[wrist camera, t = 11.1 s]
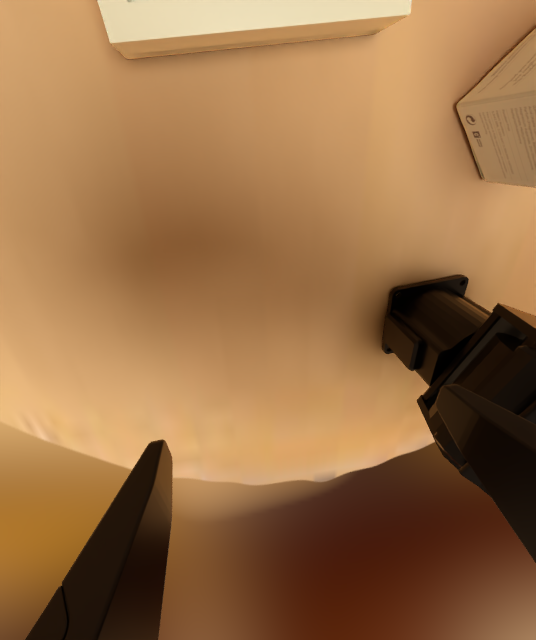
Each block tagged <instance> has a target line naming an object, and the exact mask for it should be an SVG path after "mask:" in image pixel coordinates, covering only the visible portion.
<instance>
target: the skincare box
mask: <svg viewBox="0 0 536 640" xmlns="http://www.w3.org/2000/svg"><path fill="white" fill-rule="evenodd" d="M456 107H457V111H458V114H459V116H460V119H461V122H462V124H463V126H464V128H465V131H466V134H467V137H468V140H469V143H470V145H471V148H472V152H473V155H474V158H475V160H476V163H477V165H478V169H479V171H480V174H481V177H482V178H483V179H485V180H486V181H487V182H491V183H501V184H509V185H516V186H526V187H534V188H536V28H535V29H534V30H533V31H532V32H531V33H530V34H529V35H528V36H527V37H526V38H525V39H524V40H523V41H521V42H520V43H519V44H518V45H517V46H516V47H515V48H514V49H513V50H512V51H511V52H510V53H509V54H508V55H507V56H506V57H505V58H504V59H503V60H502V61H501V62H500V63H499V64H498V65H497V66H495V67H494V69H493V70H492V71H491V72H490V73H489V74H488V75H487V76H486V77H485V78H484V79H483V80H482V81H481V82H480V83H479V84H478V85H477V86H476V87H475V88H474V89H472V90H471V91H470V92H469V93H468V94H467V95H466V96H465V97H464V98H463V99H462V100H460V101H459V102H458V104H457V106H456Z"/></svg>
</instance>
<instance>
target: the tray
mask: <svg viewBox="0 0 536 640" xmlns="http://www.w3.org/2000/svg"><path fill="white" fill-rule="evenodd" d="M97 1H98V4H99V8H100V11H101V14H102V18H103V21H104V24H105V27H106V31H107V34H108V37H109V41H110V44H112V45H113V46H114V47H115V48H116V49H117V50H118V51H119V52H120V53H121V54H122V55H123V56H124V57H125V58H126V59H137V58H147V57H157V56H166V55H176V54H186V53H196V52H206V51H216V50H226V49H235V48H245V47H255V46H265V45H275V44H285V43H294V42H304V41H314V40H324V39H334V38H344V37H353V36H363V35H373V34H376V33H378V32H380V31H381V30H383V29H385V28H387V27H389V26H390V25H392V24H394V23H396V22H398V21H399V20H401V19H403V18H405V17H407V16H408V15H410V11H411V3H412V0H97Z"/></svg>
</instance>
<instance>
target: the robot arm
mask: <svg viewBox="0 0 536 640" xmlns="http://www.w3.org/2000/svg"><path fill="white" fill-rule="evenodd" d="M468 280H469V279H468V278H467V277H465V276H463V275H458V276H453V277H448V278H443V279H438V280H433V281H427V282H422V283H417V284H412V285H407V286H401V287H396V288H394V289H393V290H392V291H391V292H390V296H389V303H388V310H387V315H386V317H385V324H384V331H383V344H382V350H383V351H384V352H385V353H386V354H390V353H395V354H396V355H397V357H398V358H399V359H400V360H401V361H402V362H403V364H404V365H405V366H406V367H407V368H408V369H409V370H411V371H414V370H415V371H416V372H417V373H418V374H419V375H420V376H421V377H422V379H423V380H424V381H425V382H426V383H427V384H428V385H429V386H430V387H429V388H428V390H427V391H426V392H425V393H424V394H423V395H421V396H420V397H419V398H418V399H417V403H418V405H419V407H420V409H421V411H422V414H423V416H424V418H425V420H426V422H427V424H428V427H429V429H430V431H431V433H432V435H433V437H434V440H435V442H436V444H437V445H438V447H439V449H440V451H441V452H442V455H443V456H444V457H445V458H446V459H448V460H449V462H450V463H451V464H453V465H454V466H455V467H456V468H457V469H458V470H459V472H460V474H461V475H462V476H464V477H465V478H467V479H468V480H470V481H471V482H473V483H474V484H476V485H477V486H479V487H480V488H481V489H482V490H483V491H484V492H486V493H487V494H488V495H489V496H490V497H491V498H492V499H493V501H494V502H495V503H496V505H497V506H498V508H499V509H500V511H501V512H502V514H503V515H504V517H505V518H506V520H507V521H508V523H509V524H510V526H511V527H512V528H513V530H514V532H515V533H516V535H517V536H518V537H519V539H520V540H521V542H522V543H523V545H524V546H525V547H526V549H527V551H528V552H529V554H530V555H531V556H532V558H533V560H534V561H535V563H536V316H534V315H531V314H528V313H525V312H523V311H520V310H517V309H514V308H511V307H508V306H506V305H503V304H500V303H498V304H497V305H496V306H495V307H494V309H493V312H492V313H491V312H489V311H487V310H486V309H484V308H483V307H481V306H480V305H478V304H476V303H475V302H473V301H472V300H470V299H468V298H467V297H465V296H464V294H465V291H466V288H467V284H468ZM397 293H398V294H397ZM396 294H397V295H396ZM171 521H172V456H171V453H170V451H169V448H168V446H167V443H166V441H165V440H157V441H152V442H150V443H149V444H148V446H147V447H146V449H145V451H144V452H143V454H142V455H141V457H140V459H139V460H138V462H137V463H136V465H135V467H134V468H133V470H132V471H131V473H130V475H129V476H128V478H127V479H126V481H125V482H124V484H123V486H122V487H121V489H120V490H119V492H118V494H117V495H116V497H115V498H114V500H113V502H112V503H111V505H110V507H109V508H108V510H107V511H106V513H105V514H104V516H103V518H102V519H101V521H100V522H99V524H98V526H97V527H96V529H95V530H94V532H93V534H92V535H91V537H90V538H89V540H88V542H87V543H86V545H85V546H84V548H83V550H82V551H81V553H80V554H79V556H78V557H77V559H76V561H75V562H74V564H73V565H72V567H71V569H70V570H69V572H68V574H67V575H66V577H65V578H64V580H63V581H62V586H59V587H58V589H57V591H56V592H55V594H54V596H53V597H52V599H51V600H50V602H49V603H48V605H47V607H46V608H45V610H44V611H43V613H42V614H41V616H40V618H39V619H38V621H37V622H36V624H35V625H34V627H33V628H32V630H31V631H30V633H29V635H28V636H27V638H26V639H25V640H158V636H159V627H160V619H161V609H162V601H163V592H164V583H165V575H166V566H167V557H168V548H169V539H170V530H171Z"/></svg>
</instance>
